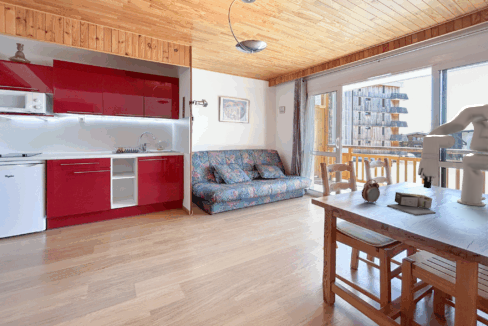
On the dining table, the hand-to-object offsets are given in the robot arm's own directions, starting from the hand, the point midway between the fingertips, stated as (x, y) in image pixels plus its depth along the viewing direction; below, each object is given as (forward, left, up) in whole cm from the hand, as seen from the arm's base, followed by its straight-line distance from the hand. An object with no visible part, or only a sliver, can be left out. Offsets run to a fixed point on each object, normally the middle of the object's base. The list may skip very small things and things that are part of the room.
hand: (427, 187), depth 136 cm
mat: (+12, 0, -12) cm, 17 cm away
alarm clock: (+23, -18, -13) cm, 32 cm away
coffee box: (-3, -1, -9) cm, 10 cm away
